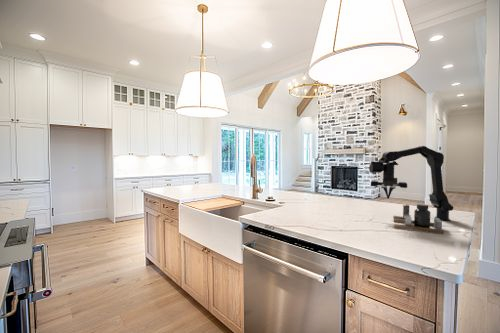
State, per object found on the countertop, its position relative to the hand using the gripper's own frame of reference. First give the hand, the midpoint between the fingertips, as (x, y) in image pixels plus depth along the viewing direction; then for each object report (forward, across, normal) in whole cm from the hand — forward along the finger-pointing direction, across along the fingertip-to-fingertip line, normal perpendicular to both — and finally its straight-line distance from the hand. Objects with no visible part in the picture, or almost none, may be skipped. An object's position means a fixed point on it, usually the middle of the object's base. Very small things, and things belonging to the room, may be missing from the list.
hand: (388, 198), depth 142 cm
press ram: (+12, +9, -8) cm, 17 cm away
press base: (+12, +13, -10) cm, 20 cm away
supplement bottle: (+12, +16, -13) cm, 24 cm away
